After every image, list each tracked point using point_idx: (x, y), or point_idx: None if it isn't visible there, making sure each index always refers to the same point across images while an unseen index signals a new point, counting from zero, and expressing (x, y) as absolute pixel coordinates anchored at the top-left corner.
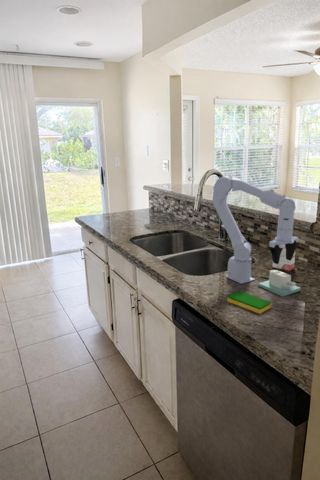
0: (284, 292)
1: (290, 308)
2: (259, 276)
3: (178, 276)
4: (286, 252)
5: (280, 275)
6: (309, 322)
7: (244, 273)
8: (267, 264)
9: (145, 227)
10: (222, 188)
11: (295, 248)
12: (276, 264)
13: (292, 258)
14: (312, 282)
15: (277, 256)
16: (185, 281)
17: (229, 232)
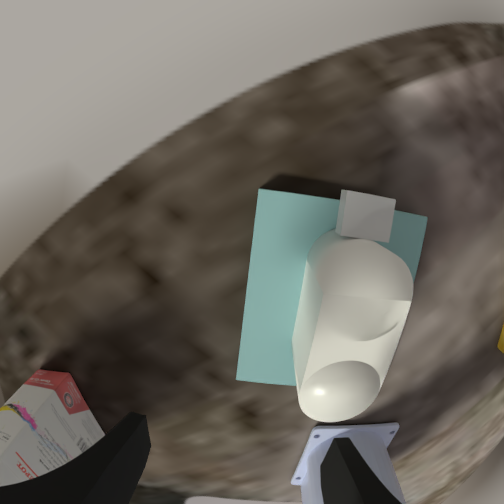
0: (409, 219)
1: (487, 122)
2: (250, 436)
3: (428, 500)
4: (128, 498)
5: (395, 324)
6: (500, 35)
7: (384, 461)
8: None
9: None
10: None
11: (48, 494)
12: (92, 435)
13: (26, 405)
14: (85, 215)
15: (390, 498)
16: (453, 476)
17: None
